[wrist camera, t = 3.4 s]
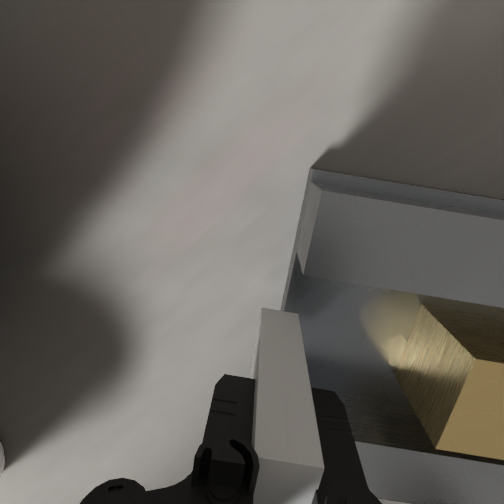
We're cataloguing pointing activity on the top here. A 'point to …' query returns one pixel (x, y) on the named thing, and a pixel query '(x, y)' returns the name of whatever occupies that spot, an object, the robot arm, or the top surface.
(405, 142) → the top surface
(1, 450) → the cup
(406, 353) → the tan wooden cube
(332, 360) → the slot bed
